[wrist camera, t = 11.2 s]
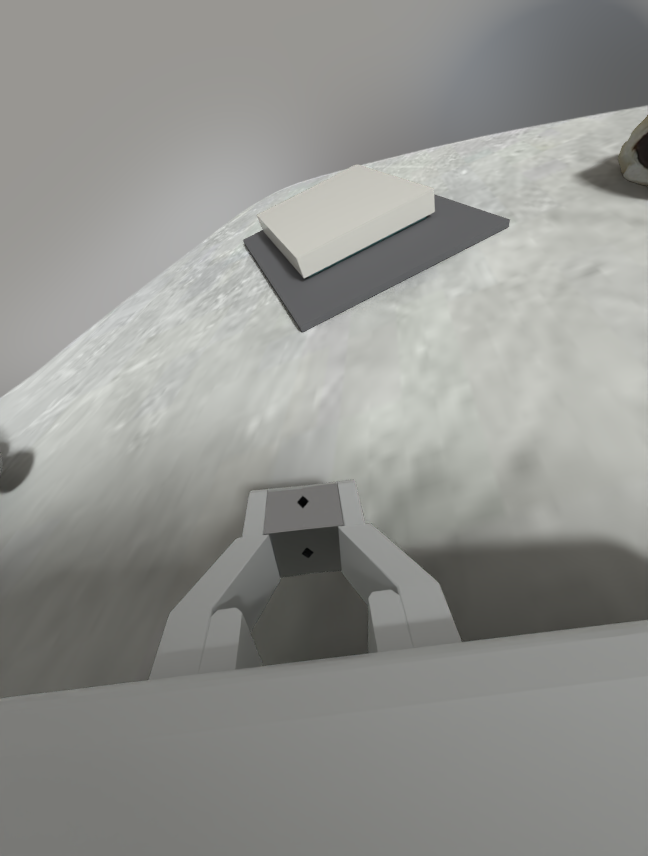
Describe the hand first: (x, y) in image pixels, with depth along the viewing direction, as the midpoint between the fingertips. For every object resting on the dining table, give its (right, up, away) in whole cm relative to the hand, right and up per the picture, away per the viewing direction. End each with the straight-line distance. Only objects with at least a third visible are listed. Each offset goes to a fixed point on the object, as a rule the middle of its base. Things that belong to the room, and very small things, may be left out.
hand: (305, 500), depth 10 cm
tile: (+3, +15, +12) cm, 20 cm away
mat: (+2, +17, +16) cm, 23 cm away
